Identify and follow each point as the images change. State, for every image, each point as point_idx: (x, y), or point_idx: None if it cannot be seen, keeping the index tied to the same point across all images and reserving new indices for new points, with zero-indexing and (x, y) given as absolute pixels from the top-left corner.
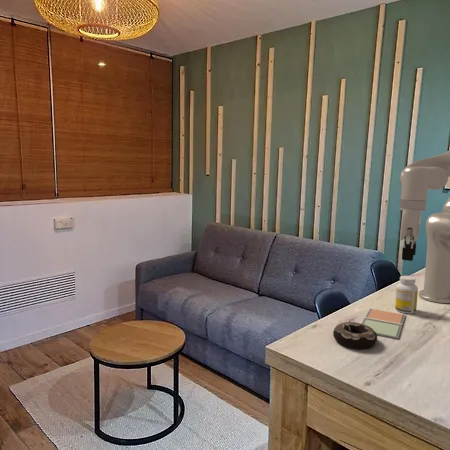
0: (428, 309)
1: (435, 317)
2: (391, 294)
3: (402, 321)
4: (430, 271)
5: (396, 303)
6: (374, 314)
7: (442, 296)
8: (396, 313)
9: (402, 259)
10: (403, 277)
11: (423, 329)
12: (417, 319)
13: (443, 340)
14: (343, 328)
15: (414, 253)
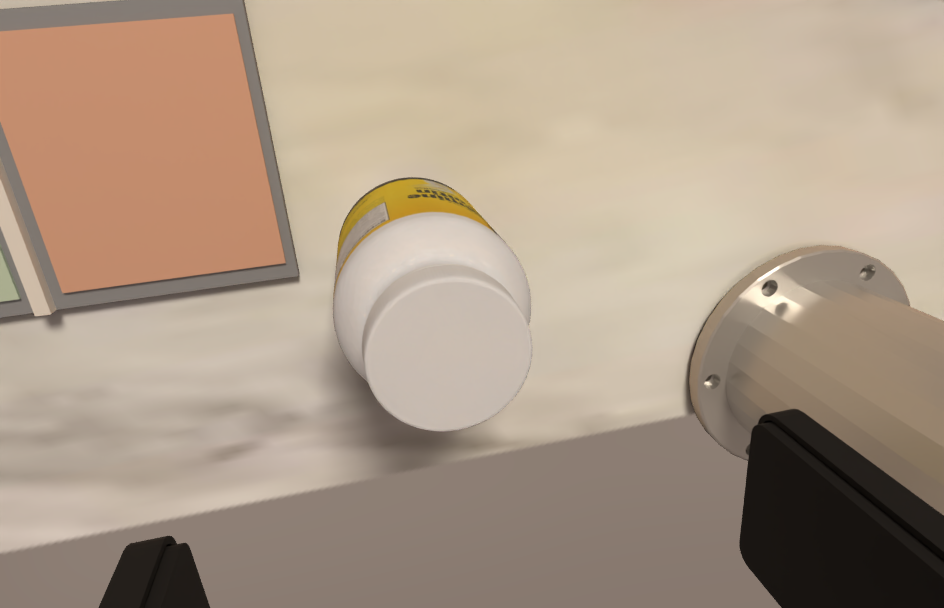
0: (533, 360)
1: (405, 423)
2: (745, 63)
3: (139, 291)
4: (905, 424)
5: (366, 202)
6: (109, 69)
7: (740, 412)
8: (269, 218)
9: (137, 549)
10: (429, 319)
11: (128, 419)
12: (289, 350)
13: (39, 536)
14: None
15: (756, 571)
